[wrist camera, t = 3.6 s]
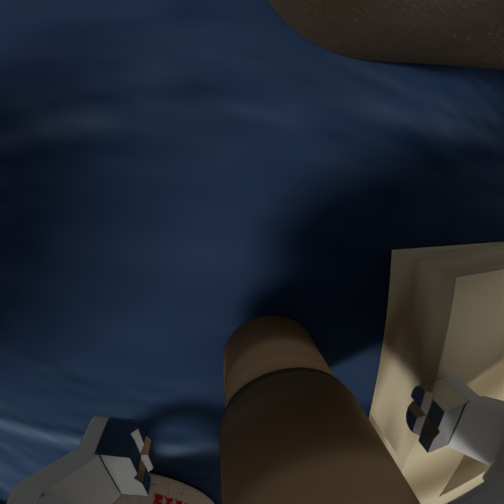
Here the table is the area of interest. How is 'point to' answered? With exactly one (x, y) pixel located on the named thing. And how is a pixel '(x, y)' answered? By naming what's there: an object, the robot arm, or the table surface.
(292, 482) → the peg
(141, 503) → the teacup with lid
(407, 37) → the plant pot
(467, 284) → the block
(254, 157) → the table surface
